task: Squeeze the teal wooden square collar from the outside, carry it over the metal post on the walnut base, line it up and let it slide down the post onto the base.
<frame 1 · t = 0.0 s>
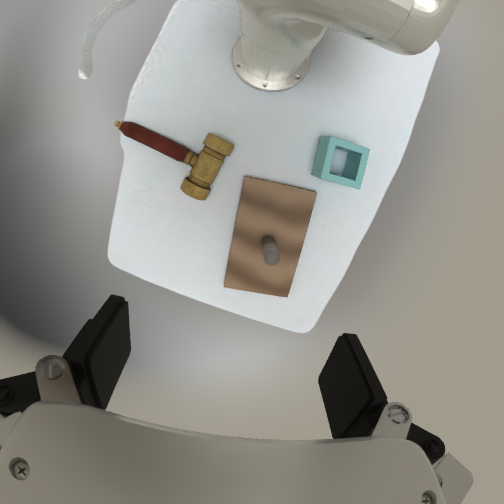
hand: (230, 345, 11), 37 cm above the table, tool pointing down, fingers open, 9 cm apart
collar: (333, 160, 43), on the table
gavel: (166, 145, 43), on the table
post stand: (267, 239, 48), on the table
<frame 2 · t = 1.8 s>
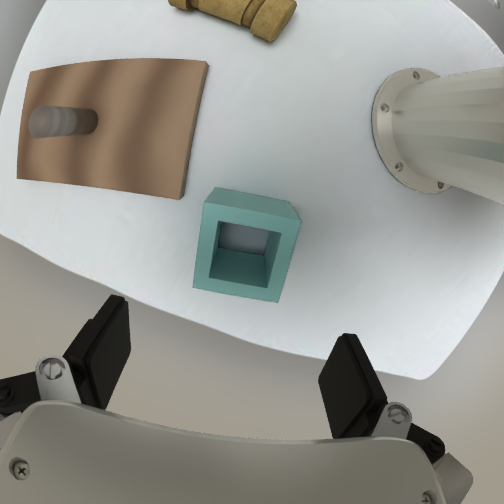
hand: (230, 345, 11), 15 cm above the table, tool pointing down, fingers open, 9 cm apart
collar: (245, 229, 25), on the table
post stand: (95, 122, 21), on the table
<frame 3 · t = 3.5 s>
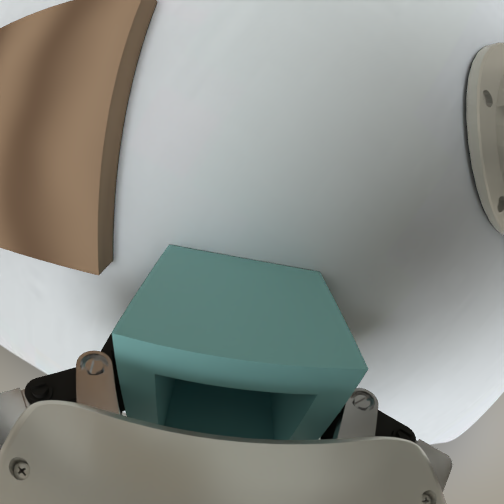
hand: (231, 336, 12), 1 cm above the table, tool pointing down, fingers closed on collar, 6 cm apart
collar: (232, 321, 13), on the table, touching gripper
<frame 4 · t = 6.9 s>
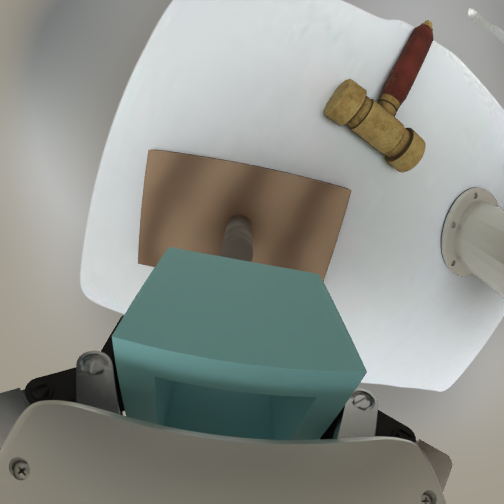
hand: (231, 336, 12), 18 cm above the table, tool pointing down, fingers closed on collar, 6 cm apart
collar: (232, 323, 13), point 17 cm above the table, touching gripper
gavel: (397, 74, 23), on the table
post stand: (239, 222, 28), on the table
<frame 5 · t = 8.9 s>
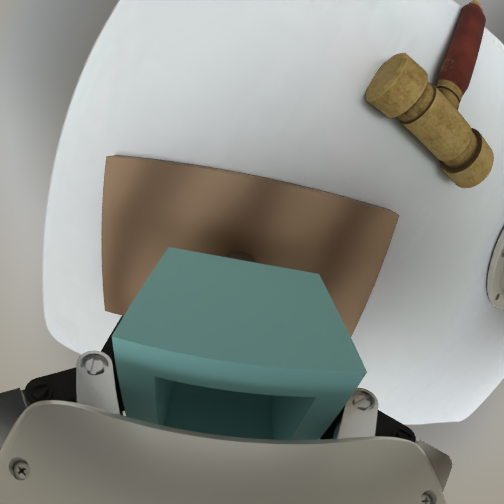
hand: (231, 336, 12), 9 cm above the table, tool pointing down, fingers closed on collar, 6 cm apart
collar: (232, 323, 13), point 7 cm above the table, touching gripper
gavel: (449, 58, 14), on the table
post stand: (239, 259, 20), on the table
when the fingers open (7 cm above the table, at t = 10.3 s): collar drops 4 cm, resting on post stand.
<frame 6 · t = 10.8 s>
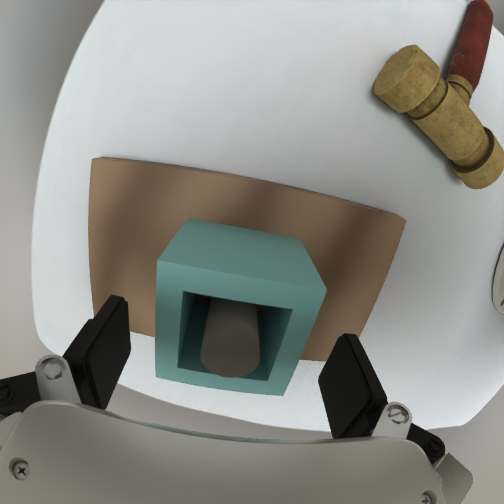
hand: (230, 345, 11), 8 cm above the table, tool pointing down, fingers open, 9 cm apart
collar: (234, 278, 17), point 1 cm above the table, touching post stand
gavel: (457, 53, 13), on the table
post stand: (235, 268, 18), on the table
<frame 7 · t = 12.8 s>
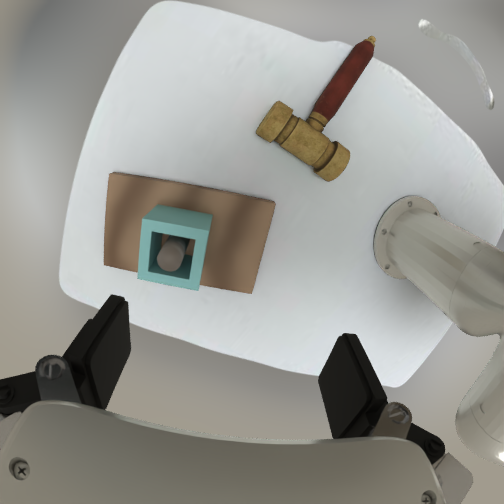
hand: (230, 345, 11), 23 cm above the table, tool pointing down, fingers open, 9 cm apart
collar: (180, 236, 32), point 1 cm above the table, touching post stand
gavel: (333, 90, 29), on the table
post stand: (182, 232, 33), on the table
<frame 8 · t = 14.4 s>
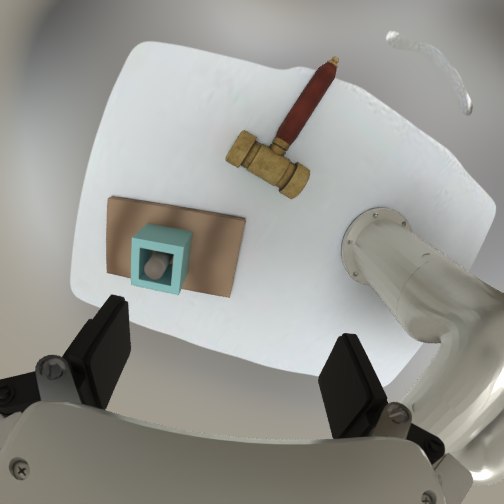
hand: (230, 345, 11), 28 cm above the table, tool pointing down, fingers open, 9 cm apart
collar: (167, 249, 38), point 1 cm above the table, touching post stand
gavel: (297, 114, 34), on the table
post stand: (170, 245, 40), on the table
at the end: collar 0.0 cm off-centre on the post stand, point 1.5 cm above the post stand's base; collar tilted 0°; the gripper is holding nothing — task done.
